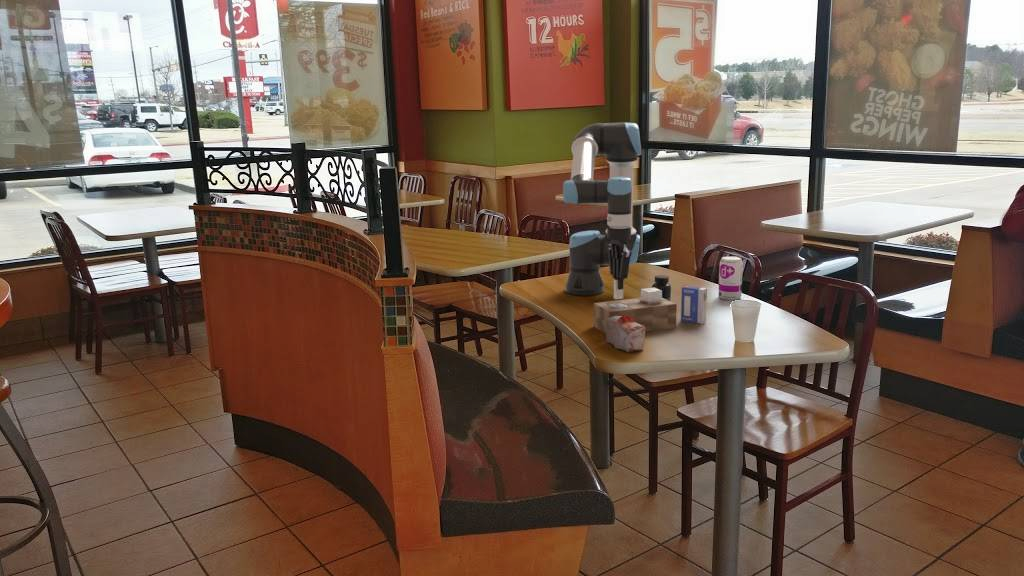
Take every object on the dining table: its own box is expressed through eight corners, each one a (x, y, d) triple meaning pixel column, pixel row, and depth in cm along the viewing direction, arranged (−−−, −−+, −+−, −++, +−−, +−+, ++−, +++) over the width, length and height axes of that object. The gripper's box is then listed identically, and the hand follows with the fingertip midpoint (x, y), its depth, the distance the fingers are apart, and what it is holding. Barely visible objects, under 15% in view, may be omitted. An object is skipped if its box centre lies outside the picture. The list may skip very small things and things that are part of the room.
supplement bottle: (670, 312, 286) (671, 278, 284) (650, 311, 288) (651, 278, 285) (670, 307, 293) (671, 274, 290) (651, 306, 294) (652, 274, 292)
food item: (648, 351, 245) (649, 319, 243) (626, 355, 241) (627, 323, 239) (623, 339, 257) (623, 309, 254) (601, 343, 253) (601, 312, 251)
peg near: (607, 325, 269) (608, 304, 267) (621, 323, 270) (621, 302, 269) (614, 329, 264) (615, 308, 263) (628, 327, 266) (628, 306, 264)
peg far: (640, 309, 272) (640, 289, 270) (653, 307, 273) (654, 287, 272) (648, 313, 267) (648, 292, 266) (661, 311, 269) (661, 290, 267)
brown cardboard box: (593, 326, 271) (593, 303, 269) (657, 318, 279) (658, 295, 277) (609, 336, 260) (610, 311, 258) (676, 327, 268) (676, 303, 266)
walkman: (680, 321, 276) (681, 286, 273) (683, 319, 278) (684, 284, 275) (703, 324, 271) (704, 289, 268) (706, 322, 273) (707, 287, 271)
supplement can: (732, 301, 299) (734, 261, 296) (713, 297, 305) (715, 258, 302) (745, 297, 304) (747, 258, 301) (726, 293, 310) (728, 255, 307)
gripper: (599, 224, 264) (599, 294, 270) (617, 230, 253) (617, 304, 258) (620, 222, 267) (619, 292, 273) (639, 228, 255) (638, 301, 261)
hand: (618, 298), depth 266 cm, fingers closed
